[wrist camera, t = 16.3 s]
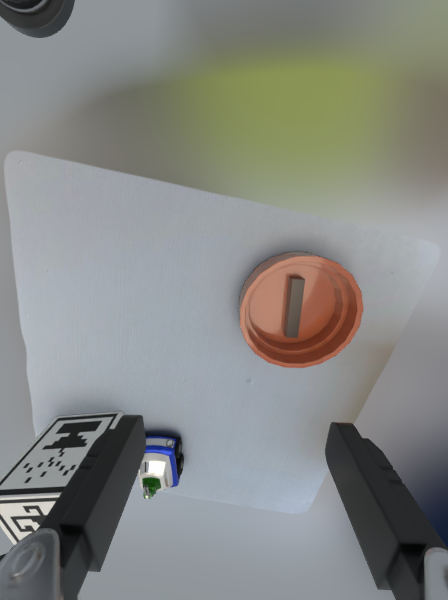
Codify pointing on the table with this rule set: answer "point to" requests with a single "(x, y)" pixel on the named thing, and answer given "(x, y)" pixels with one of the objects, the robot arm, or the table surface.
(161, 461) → the toy car
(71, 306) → the table surface
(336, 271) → the bowl
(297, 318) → the stick
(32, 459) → the block
